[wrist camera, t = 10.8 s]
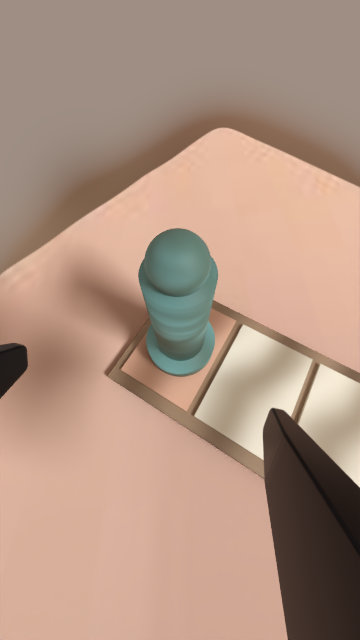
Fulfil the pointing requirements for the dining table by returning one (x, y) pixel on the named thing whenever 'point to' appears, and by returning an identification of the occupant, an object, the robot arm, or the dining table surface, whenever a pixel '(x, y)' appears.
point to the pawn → (179, 301)
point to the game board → (252, 391)
